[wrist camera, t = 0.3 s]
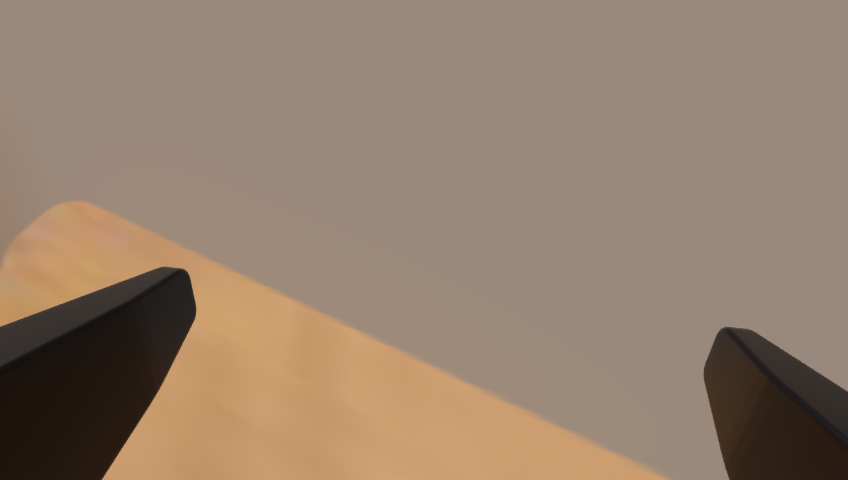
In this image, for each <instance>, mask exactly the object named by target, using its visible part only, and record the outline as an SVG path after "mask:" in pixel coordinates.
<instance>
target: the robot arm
mask: <svg viewBox="0 0 848 480" xmlns="http://www.w3.org/2000/svg"><path fill="white" fill-rule="evenodd" d="M195 316H196V303H195V299H194V294H193V289H192V284H191V280H190V276H189V274H188V272H187V271H186V270H184V269H181V268H172V267H160V268H157V269H154V270H152V271H149V272H146V273H144V274H141V275H138V276H136V277H133V278H130V279H128V280H125V281H122V282H119V283H117V284H114V285H111V286H109V287H106V288H103V289H101V290H98V291H95V292H93V293H90V294H87V295H84V296H82V297H79V298H76V299H74V300H71V301H68V302H66V303H63V304H60V305H58V306H55V307H52V308H50V309H47V310H44V311H41V312H39V313H36V314H33V315H31V316H28V317H25V318H23V319H20V320H17V321H15V322H12V323H9V324H7V325H4V326H1V327H0V480H102V479H103V477H104V476H105V474H106V472H107V471H108V469H109V468H110V466H111V465H112V463H113V462H114V460H115V458H116V457H117V455H118V454H119V452H120V451H121V449H122V448H123V446H124V444H125V443H126V441H127V440H128V438H129V437H130V435H131V434H132V432H133V430H134V429H135V427H136V426H137V424H138V423H139V421H140V420H141V418H142V417H143V415H144V413H145V412H146V410H147V409H148V407H149V406H150V404H151V402H152V401H153V399H154V397H155V396H156V394H157V392H158V391H159V389H160V387H161V385H162V383H163V382H164V380H165V378H166V376H167V374H168V372H169V370H170V368H171V366H172V364H173V362H174V360H175V358H176V356H177V354H178V352H179V350H180V348H181V346H182V344H183V342H184V340H185V338H186V336H187V334H188V332H189V330H190V328H191V326H192V324H193V322H194V320H195ZM704 381H705V386H706V390H707V394H708V399H709V403H710V407H711V411H712V415H713V419H714V424H715V428H716V432H717V436H718V441H719V445H720V449H721V453H722V457H723V461H724V464H725V468H726V471H727V474H728V476H729V480H848V391H846V390H844V389H843V388H841V387H840V386H838V385H837V384H835V383H833V382H832V381H830V380H829V379H827V378H826V377H824V376H823V375H821V374H819V373H818V372H816V371H815V370H813V369H812V368H810V367H808V366H807V365H805V364H804V363H802V362H801V361H799V360H798V359H796V358H794V357H792V356H791V355H790V354H788V353H787V352H785V351H784V350H782V349H780V348H779V347H777V346H775V345H774V344H773V343H771V342H770V341H768V340H766V339H765V338H763V337H762V336H760V335H759V334H757V333H756V332H754V331H752V330H749V329H743V328H733V327H724V328H722V329H720V331H719V332H718V333H717V335H716V338H715V341H714V343H713V346H712V348H711V351H710V353H709V356H708V358H707V361H706V363H705V367H704Z"/></svg>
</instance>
